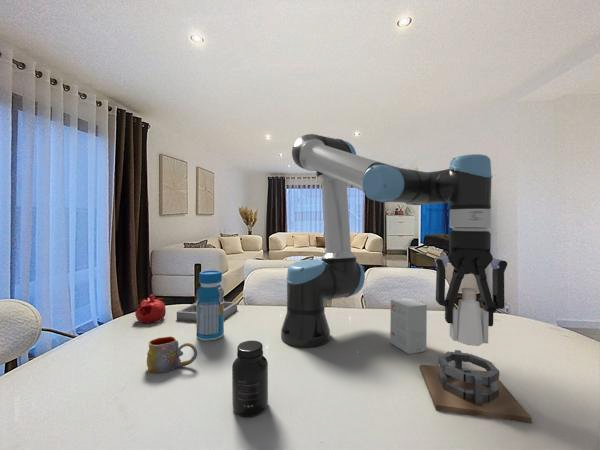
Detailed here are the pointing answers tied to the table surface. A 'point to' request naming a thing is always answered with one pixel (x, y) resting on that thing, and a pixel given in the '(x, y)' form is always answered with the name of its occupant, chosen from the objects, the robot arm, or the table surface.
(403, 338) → the small box
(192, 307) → the pipe fitting
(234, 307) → the parts tray
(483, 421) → the table surface
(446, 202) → the robot arm
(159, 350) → the mug
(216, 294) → the beverage bottle
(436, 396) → the collar base
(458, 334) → the pepper shaker
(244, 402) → the supplement bottle
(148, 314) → the pomegranate
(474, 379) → the collar frame
